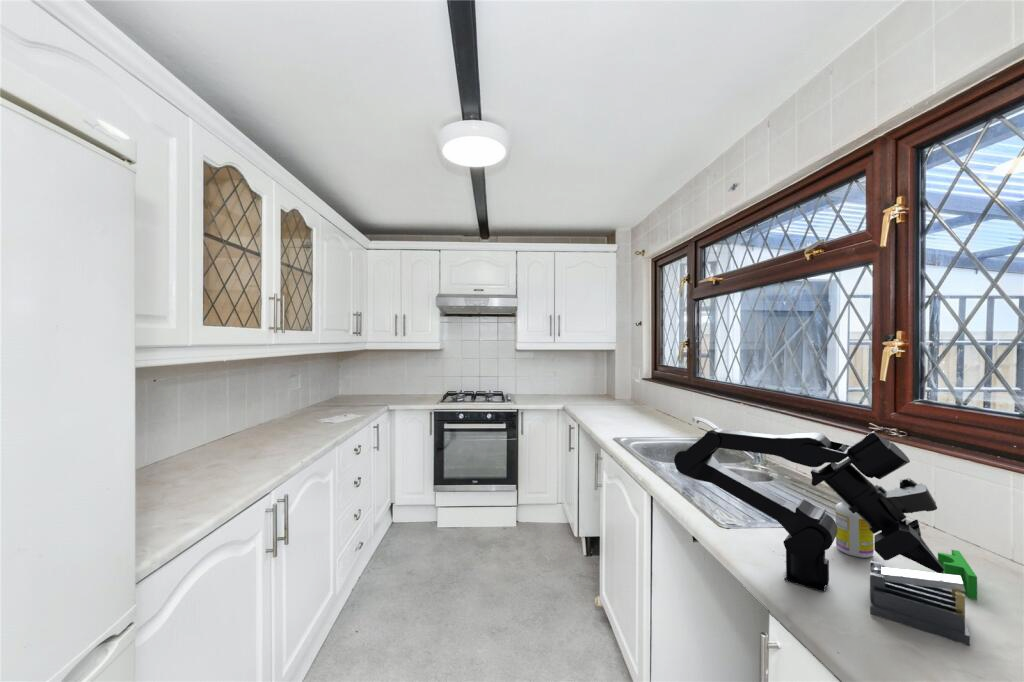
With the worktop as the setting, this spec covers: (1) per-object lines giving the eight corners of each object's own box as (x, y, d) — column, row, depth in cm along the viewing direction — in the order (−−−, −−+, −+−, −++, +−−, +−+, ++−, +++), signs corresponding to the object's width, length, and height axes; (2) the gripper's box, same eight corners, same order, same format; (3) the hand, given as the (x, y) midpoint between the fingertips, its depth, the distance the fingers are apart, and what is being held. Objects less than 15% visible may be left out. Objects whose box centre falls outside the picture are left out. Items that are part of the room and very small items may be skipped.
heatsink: (870, 614, 75) (869, 575, 74) (870, 587, 82) (870, 553, 82) (969, 645, 67) (969, 602, 67) (960, 613, 74) (960, 575, 74)
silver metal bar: (872, 582, 77) (869, 571, 77) (872, 573, 79) (870, 563, 80) (966, 594, 69) (962, 582, 69) (962, 584, 72) (959, 573, 72)
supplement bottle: (874, 550, 96) (874, 494, 96) (872, 562, 91) (872, 503, 91) (837, 541, 101) (837, 487, 100) (834, 552, 96) (833, 495, 96)
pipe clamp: (934, 567, 89) (934, 545, 89) (959, 573, 87) (959, 550, 87) (948, 594, 80) (948, 570, 80) (977, 601, 78) (977, 576, 78)
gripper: (901, 481, 68) (1004, 573, 61) (896, 455, 82) (980, 528, 75) (839, 517, 74) (928, 605, 67) (845, 487, 88) (919, 557, 81)
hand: (941, 571), depth 72 cm, fingers closed
